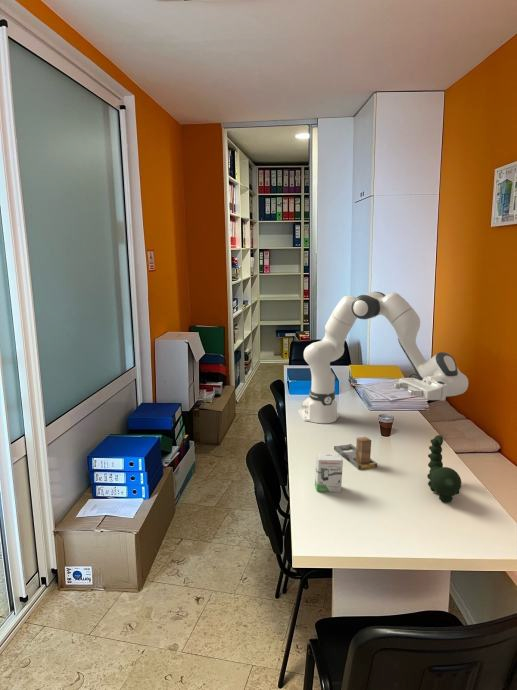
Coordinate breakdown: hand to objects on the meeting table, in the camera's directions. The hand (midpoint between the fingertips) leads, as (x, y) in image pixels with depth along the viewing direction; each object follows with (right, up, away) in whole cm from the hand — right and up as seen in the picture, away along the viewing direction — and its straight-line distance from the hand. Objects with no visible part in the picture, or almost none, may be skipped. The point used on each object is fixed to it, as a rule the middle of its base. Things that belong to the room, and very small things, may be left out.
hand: (402, 389), depth 196 cm
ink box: (-32, -33, -22) cm, 51 cm away
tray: (-18, -28, +3) cm, 33 cm away
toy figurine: (+6, -33, -23) cm, 41 cm away
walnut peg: (-16, -28, -2) cm, 33 cm away
